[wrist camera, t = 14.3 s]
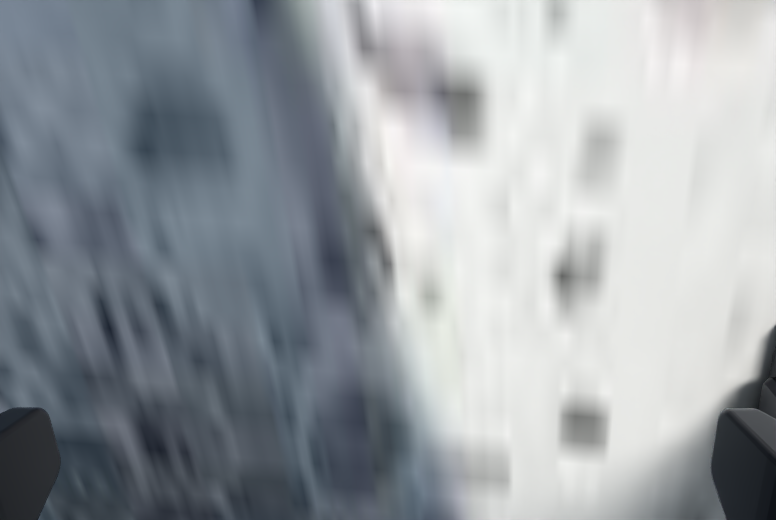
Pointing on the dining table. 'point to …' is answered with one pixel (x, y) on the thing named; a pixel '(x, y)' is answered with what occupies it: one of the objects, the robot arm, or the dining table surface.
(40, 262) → the dining table surface
